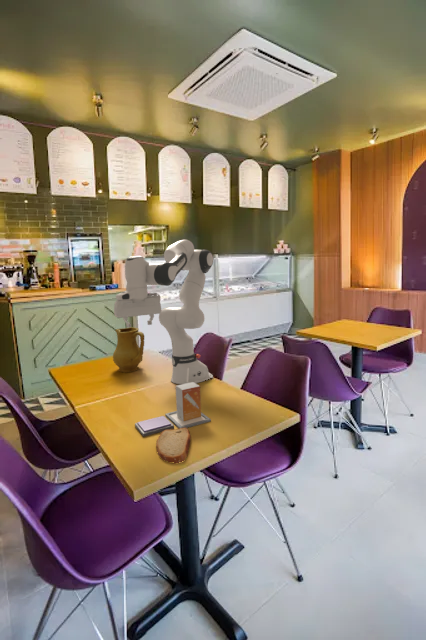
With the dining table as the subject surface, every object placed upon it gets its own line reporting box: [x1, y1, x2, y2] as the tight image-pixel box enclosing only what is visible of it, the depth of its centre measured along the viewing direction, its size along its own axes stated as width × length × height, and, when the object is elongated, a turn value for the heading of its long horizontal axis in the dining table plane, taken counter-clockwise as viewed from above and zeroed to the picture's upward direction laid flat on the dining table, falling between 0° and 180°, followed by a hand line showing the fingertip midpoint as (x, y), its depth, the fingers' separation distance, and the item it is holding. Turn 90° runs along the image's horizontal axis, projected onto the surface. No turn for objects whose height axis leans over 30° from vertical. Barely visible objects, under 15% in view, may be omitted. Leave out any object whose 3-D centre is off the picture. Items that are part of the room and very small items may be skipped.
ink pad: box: [134, 415, 175, 437], centre depth 135 cm, size 12×10×2 cm
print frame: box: [164, 410, 212, 429], centre depth 142 cm, size 13×15×1 cm
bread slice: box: [155, 428, 192, 464], centre depth 121 cm, size 18×18×4 cm
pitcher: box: [112, 326, 145, 373], centre depth 210 cm, size 17×19×25 cm
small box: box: [175, 382, 202, 421], centre depth 142 cm, size 8×6×13 cm
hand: (139, 325), depth 155 cm, fingers open, 8 cm apart
